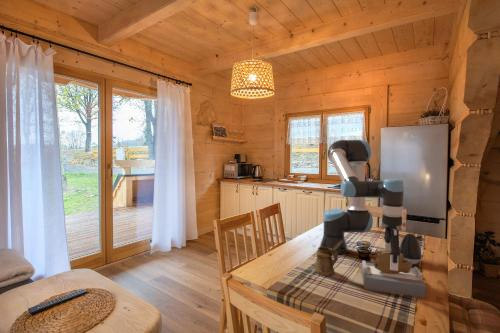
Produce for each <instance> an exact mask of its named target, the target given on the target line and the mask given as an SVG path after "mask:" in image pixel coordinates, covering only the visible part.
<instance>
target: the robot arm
mask: <svg viewBox="0 0 500 333" xmlns="http://www.w3.org/2000/svg"><path fill="white" fill-rule="evenodd" d="M371 148H372V147H371V145H370V143H369V142H368V141H367V140H366V139H365V140H364V139H339V140H336V141H335V142H333V143H332V144H330V146H329V147H328V150H327V157H328V160H329V161H330V163H332V164H333V166H334V168H335V170H336V172H337V174H338V177H339V178H340V181H341V183H340V186H339V187H340V194H341V196H343V198H345V197H346V198H349V206H348V207H347V208H346V210H344V209H342V208H331V209H327V210H326V211H324V213H323V220H322V221H323V235H322V239H321V240H320V245H319V247H328V248H330V249H332V248H333V247H334V245H335V244H336V243H338V242H339V241H340V240H343V242H342V243H341V244H340V246H339V247H338V248H337V249H336V251H337V254H338V255H344V254H346V253H347V252H348V246H347V242H346V240H345V233H360V234H363V233H369V232H370V231H371V230H372V228H373V224H374V218H373V214H372V213H371V212H369V209H368V208H367V206H366V198H381V199H382V213H383V214H382V220H381V222H382V224H384V225H385V228H384V229H385V231H384V238H383V239H384V250H385V251H386V250H391V253H390V255H391V260H390V270H396V271H398V256H400V248H399V247H400V237H399V236H400V235H399V234H400V231H399V229H397V228H398V227H400V226H402V225H403V211H404V210H405V208H404V205H403V204H404V190H405V189H404V181H403V180H402V179H400V178H384V180H377V179H376V180H367V181H366V176H365V170H366V169H365V165H366V164H367V163H368V160H370V159H371V157H372V149H371Z"/></svg>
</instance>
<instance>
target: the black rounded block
mask: <svg viewBox="0 0 500 333" xmlns="http://www.w3.org/2000/svg"><path fill="white" fill-rule="evenodd" d="M422 238H423V236H422V235H417V236H416V235H415V234H414V233H410V232H409V233H406V234H404V235H403V237H402V239H401V241H400V243H399V248H400V253H402V254H403V256H404V260H407V261H409V262H410V263H411V264H412V265H417V264H418V263H420V261H421V259H422V256H423V255H422V249H421V245H420V242H419V239H422Z"/></svg>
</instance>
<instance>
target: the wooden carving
mask: <svg viewBox="0 0 500 333" xmlns="http://www.w3.org/2000/svg"><path fill="white" fill-rule="evenodd" d="M390 253H391V250H386V251H385V249H384V250H381V251H377V252H376V257H375V258H373V257H371V258H370V263H374V267H375V268H376V269H378V270H380V271H382V272H384V273H389V274H395V273H399V272H403V273H409V270H410V269H411V268H413V264H411V263H410V262H409V261H407V260H404V256H403V254H402V253H400V256H398V271H396V270H390V260H391V255H390Z"/></svg>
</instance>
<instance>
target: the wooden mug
mask: <svg viewBox="0 0 500 333" xmlns="http://www.w3.org/2000/svg"><path fill="white" fill-rule="evenodd" d="M342 242H343V240H340V241H339V242H338V243H336V244H335V245H334V247H333V248H332V249H330V248H328V247H320V246H319V247H318V248H317V251H316V260H315V265H314V269H313V271H314V273H316V274H317V275H319V276H324V277H326V276H331V275H333V274H334V273H335V268H334V265H335V264H336V263H337V262H338V260H339V256H338V255H339V254H337V251H336V249H337V248H338V247H339V246H340V244H341V243H342Z"/></svg>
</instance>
